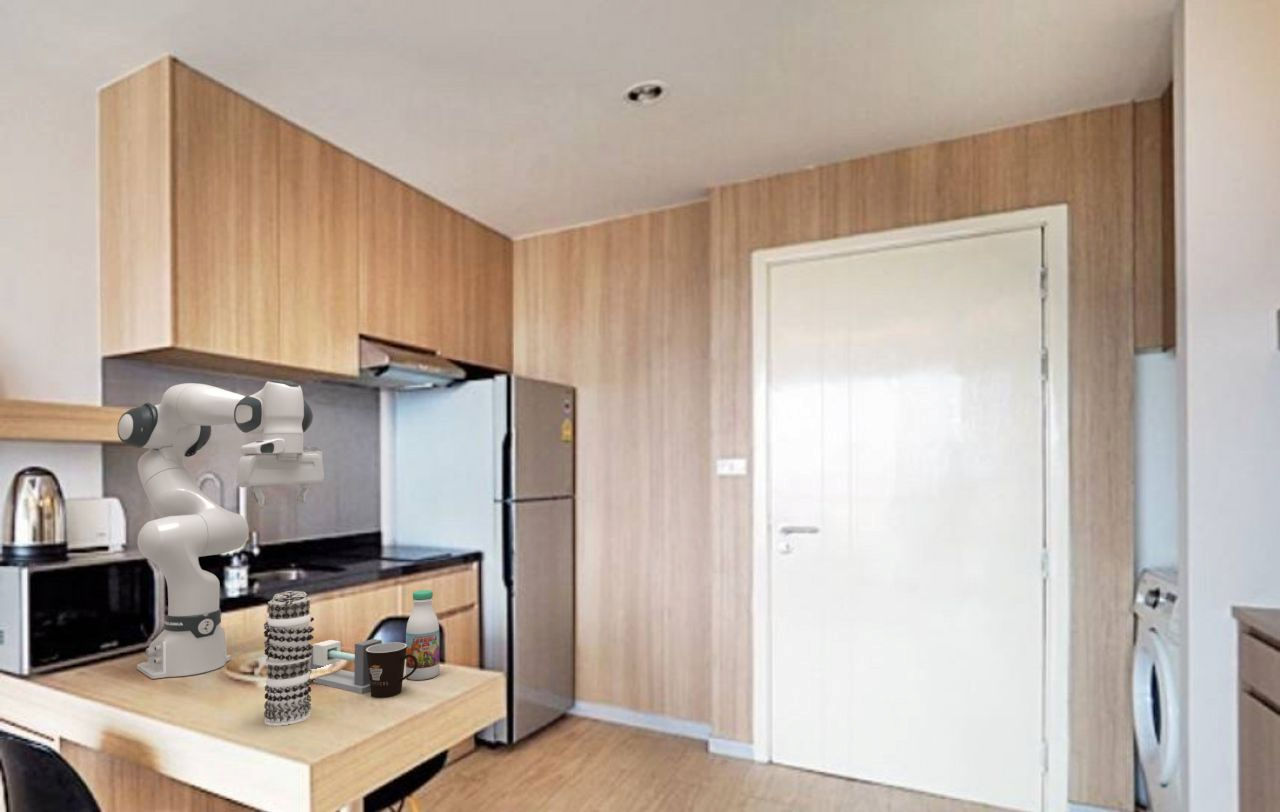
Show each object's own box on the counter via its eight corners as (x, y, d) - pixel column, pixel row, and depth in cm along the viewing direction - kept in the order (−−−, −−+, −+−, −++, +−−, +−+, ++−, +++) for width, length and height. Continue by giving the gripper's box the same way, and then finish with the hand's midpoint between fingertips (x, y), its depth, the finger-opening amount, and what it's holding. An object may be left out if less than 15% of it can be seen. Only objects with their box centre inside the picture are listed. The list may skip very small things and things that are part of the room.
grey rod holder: (301, 679, 167) (302, 636, 168) (327, 671, 173) (328, 629, 174) (362, 693, 156) (362, 647, 157) (387, 684, 162) (388, 639, 163)
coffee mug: (358, 694, 156) (358, 648, 157) (394, 684, 162) (395, 640, 163) (383, 705, 148) (384, 657, 149) (420, 695, 154) (421, 648, 155)
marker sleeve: (312, 663, 167) (313, 644, 168) (330, 659, 171) (330, 639, 172) (323, 666, 165) (323, 646, 166) (340, 661, 169) (340, 641, 170)
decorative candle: (265, 714, 145) (267, 590, 147) (314, 707, 148) (316, 587, 150) (258, 729, 136) (261, 598, 138) (310, 722, 139) (312, 594, 141)
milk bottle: (400, 676, 169) (400, 591, 170) (430, 669, 174) (430, 587, 175) (414, 683, 163) (414, 595, 164) (445, 675, 168) (445, 591, 170)
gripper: (314, 447, 180) (313, 501, 179) (233, 446, 163) (232, 506, 162) (329, 446, 177) (329, 501, 176) (249, 446, 159) (247, 507, 158)
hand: (282, 504), depth 169 cm, fingers open, 8 cm apart
